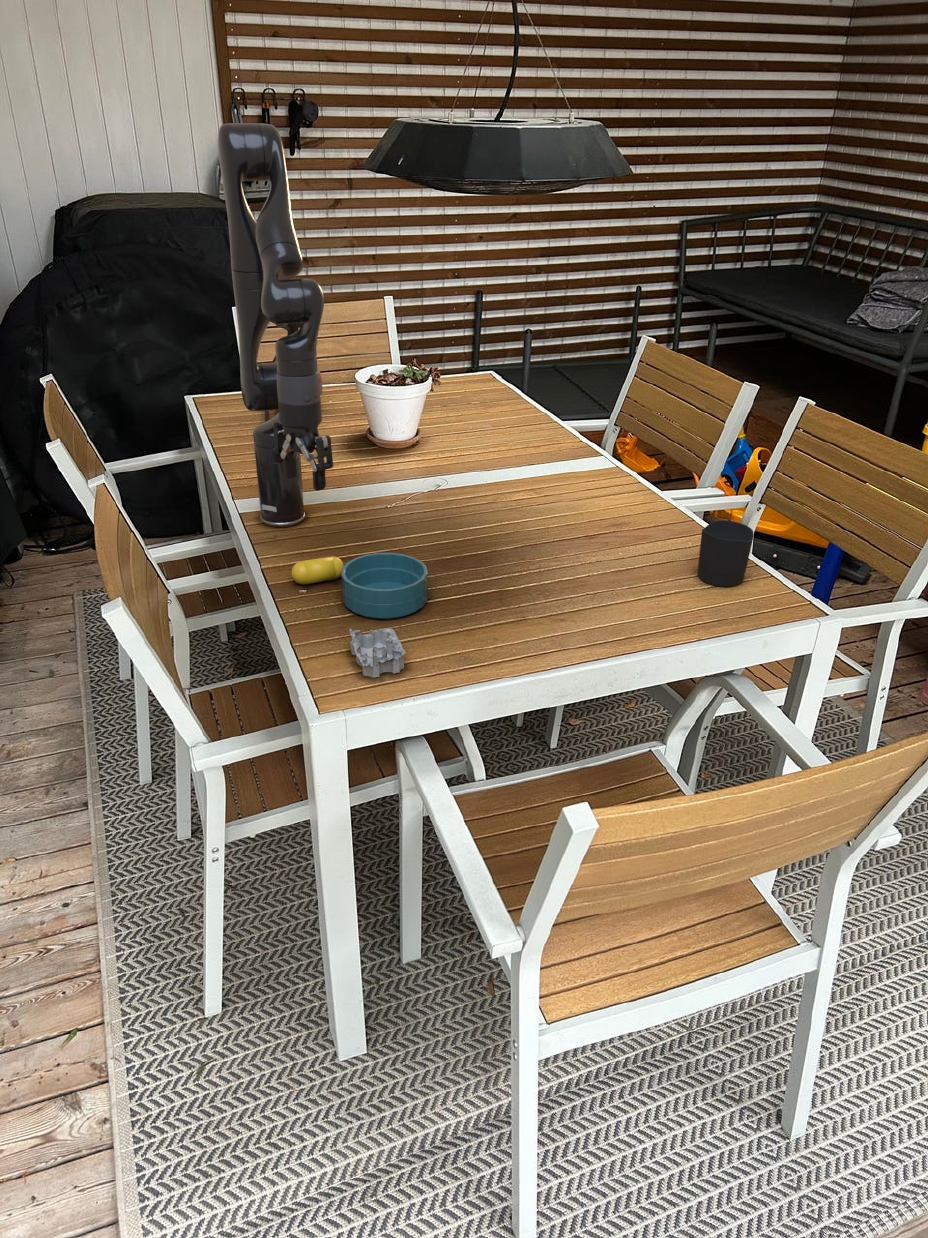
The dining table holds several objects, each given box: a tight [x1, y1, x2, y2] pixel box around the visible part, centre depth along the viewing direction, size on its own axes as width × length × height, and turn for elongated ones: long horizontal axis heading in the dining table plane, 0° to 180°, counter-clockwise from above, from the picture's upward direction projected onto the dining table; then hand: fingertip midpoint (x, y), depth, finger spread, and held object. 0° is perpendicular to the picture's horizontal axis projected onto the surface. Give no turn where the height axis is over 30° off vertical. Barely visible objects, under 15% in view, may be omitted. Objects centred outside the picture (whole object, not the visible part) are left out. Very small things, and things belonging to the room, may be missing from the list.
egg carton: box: [348, 627, 407, 678], centre depth 153 cm, size 11×8×4 cm
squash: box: [291, 555, 349, 586], centre depth 178 cm, size 11×4×4 cm, turn 114°
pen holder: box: [697, 519, 755, 588], centre depth 181 cm, size 9×9×10 cm
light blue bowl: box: [341, 552, 428, 620], centre depth 171 cm, size 15×15×6 cm
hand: (305, 483), depth 177 cm, fingers open, 8 cm apart
